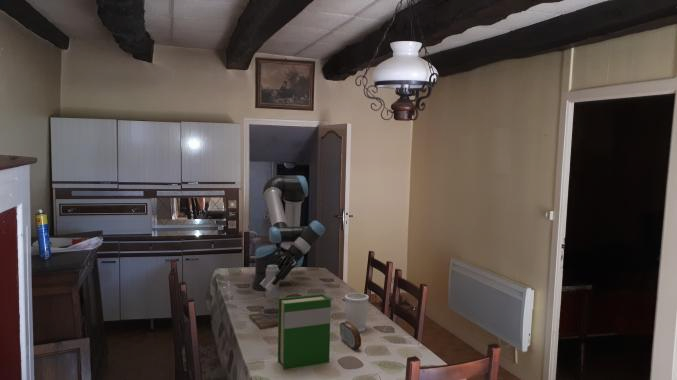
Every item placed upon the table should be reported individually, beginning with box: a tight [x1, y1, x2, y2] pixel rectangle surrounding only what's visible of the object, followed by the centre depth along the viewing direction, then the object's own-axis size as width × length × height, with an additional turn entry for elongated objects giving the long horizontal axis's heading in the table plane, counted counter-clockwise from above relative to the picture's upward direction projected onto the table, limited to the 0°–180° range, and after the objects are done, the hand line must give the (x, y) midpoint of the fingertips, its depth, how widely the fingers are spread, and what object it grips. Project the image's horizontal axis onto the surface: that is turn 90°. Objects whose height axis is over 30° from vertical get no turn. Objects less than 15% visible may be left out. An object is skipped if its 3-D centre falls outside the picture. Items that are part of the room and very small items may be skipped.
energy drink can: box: [265, 265, 280, 301], centre depth 227 cm, size 6×6×15 cm
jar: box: [344, 292, 370, 333], centre depth 221 cm, size 11×10×15 cm
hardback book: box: [277, 293, 332, 371], centre depth 185 cm, size 18×7×24 cm, turn 114°
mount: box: [248, 307, 279, 330], centre depth 229 cm, size 16×16×4 cm
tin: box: [339, 320, 362, 350], centre depth 203 cm, size 15×3×8 cm, turn 25°
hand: (264, 287), depth 226 cm, fingers closed on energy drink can, 6 cm apart
